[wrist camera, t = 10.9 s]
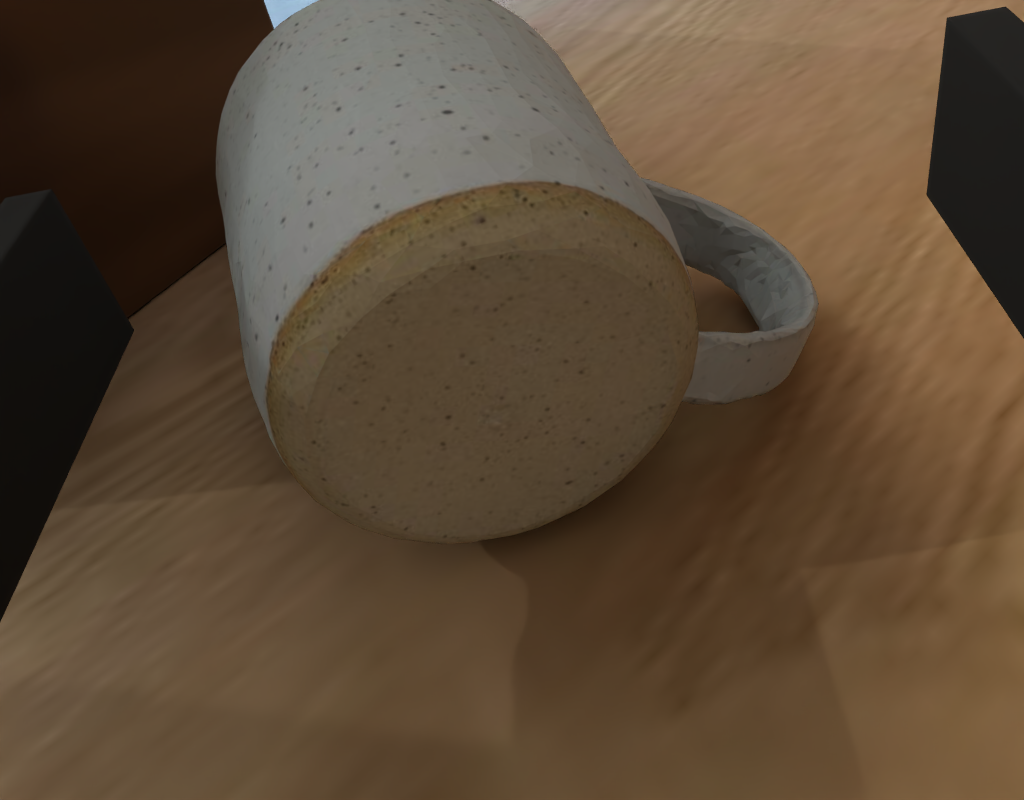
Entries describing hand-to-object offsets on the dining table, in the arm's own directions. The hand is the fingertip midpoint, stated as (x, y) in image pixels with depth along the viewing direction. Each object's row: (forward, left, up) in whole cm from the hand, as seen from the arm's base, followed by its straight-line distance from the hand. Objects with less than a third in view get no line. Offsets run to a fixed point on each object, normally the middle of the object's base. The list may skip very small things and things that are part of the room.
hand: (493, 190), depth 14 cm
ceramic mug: (-1, +2, -6) cm, 6 cm away
